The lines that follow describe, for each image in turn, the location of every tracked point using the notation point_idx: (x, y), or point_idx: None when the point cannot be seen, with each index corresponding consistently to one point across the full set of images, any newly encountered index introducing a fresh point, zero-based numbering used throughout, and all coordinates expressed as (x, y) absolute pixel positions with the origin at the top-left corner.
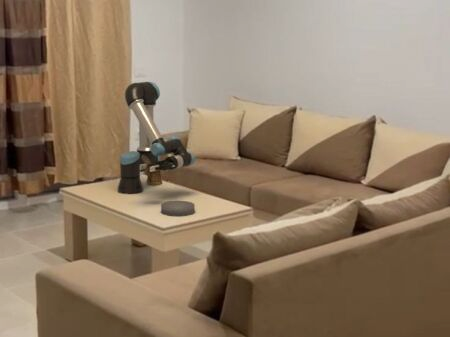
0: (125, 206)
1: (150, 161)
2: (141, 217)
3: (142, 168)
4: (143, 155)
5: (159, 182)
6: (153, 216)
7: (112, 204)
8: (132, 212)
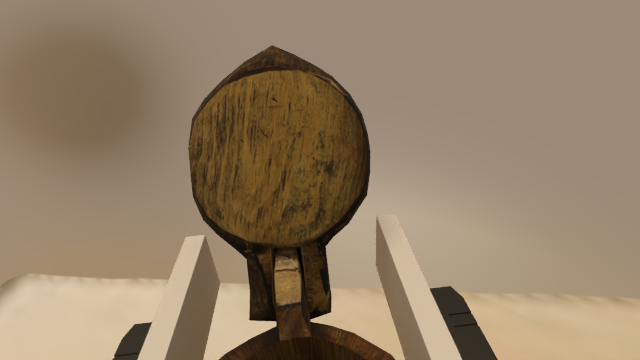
0: (397, 356)
1: (193, 189)
2: None
3: (383, 278)
4: (262, 59)
5: None
6: None
7: None
8: None
